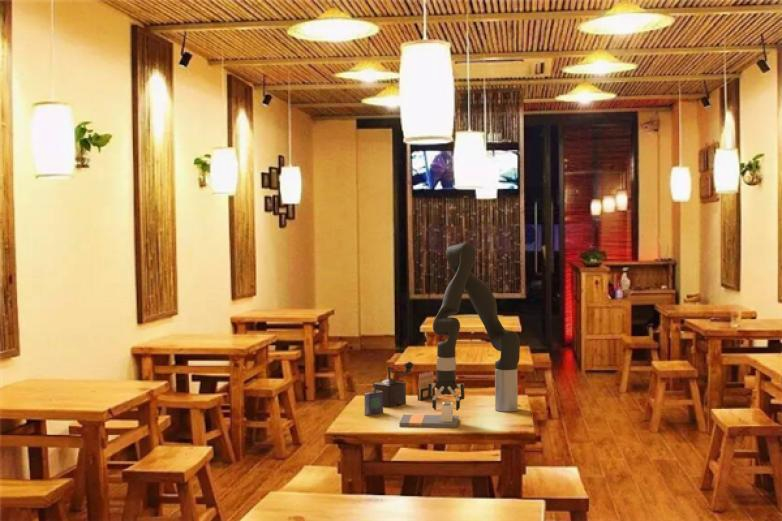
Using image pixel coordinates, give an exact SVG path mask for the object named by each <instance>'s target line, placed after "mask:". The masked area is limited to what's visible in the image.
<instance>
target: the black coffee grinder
mask: <svg viewBox="0 0 782 521" xmlns="http://www.w3.org/2000/svg"><path fill="white" fill-rule="evenodd" d="M404 367H405V370H404V371H399V370H391V366H390V365H389V366H387V372H388V373H387V374H388V375H387V376H388V377H387V378H385V379H383V380H382V381H378V382H374V383H372V388H374V390H375V391H377V390H379V391H383V408H389V409H390V408H395V407H400V406H403V405H406V404H407V400H406V399H407V397H406V396H407V387H406V386H407V384H406V382H403V381H398V380H397V379H396V378H392V377H391V373H394V374H402V375H403V374H409V373H412V369H413V368H414V363H413V362H411V361H406V362H404Z"/></svg>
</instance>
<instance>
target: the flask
mask: <svg viewBox="0 0 782 521" xmlns="http://www.w3.org/2000/svg"><path fill="white" fill-rule="evenodd" d="M363 396H364V416H367V417H368V416H373V415H379V414H384V407H383V391H379V390H377V391H375V390H374V388H373V387H371V391H369V392H366V393H364V395H363Z"/></svg>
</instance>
